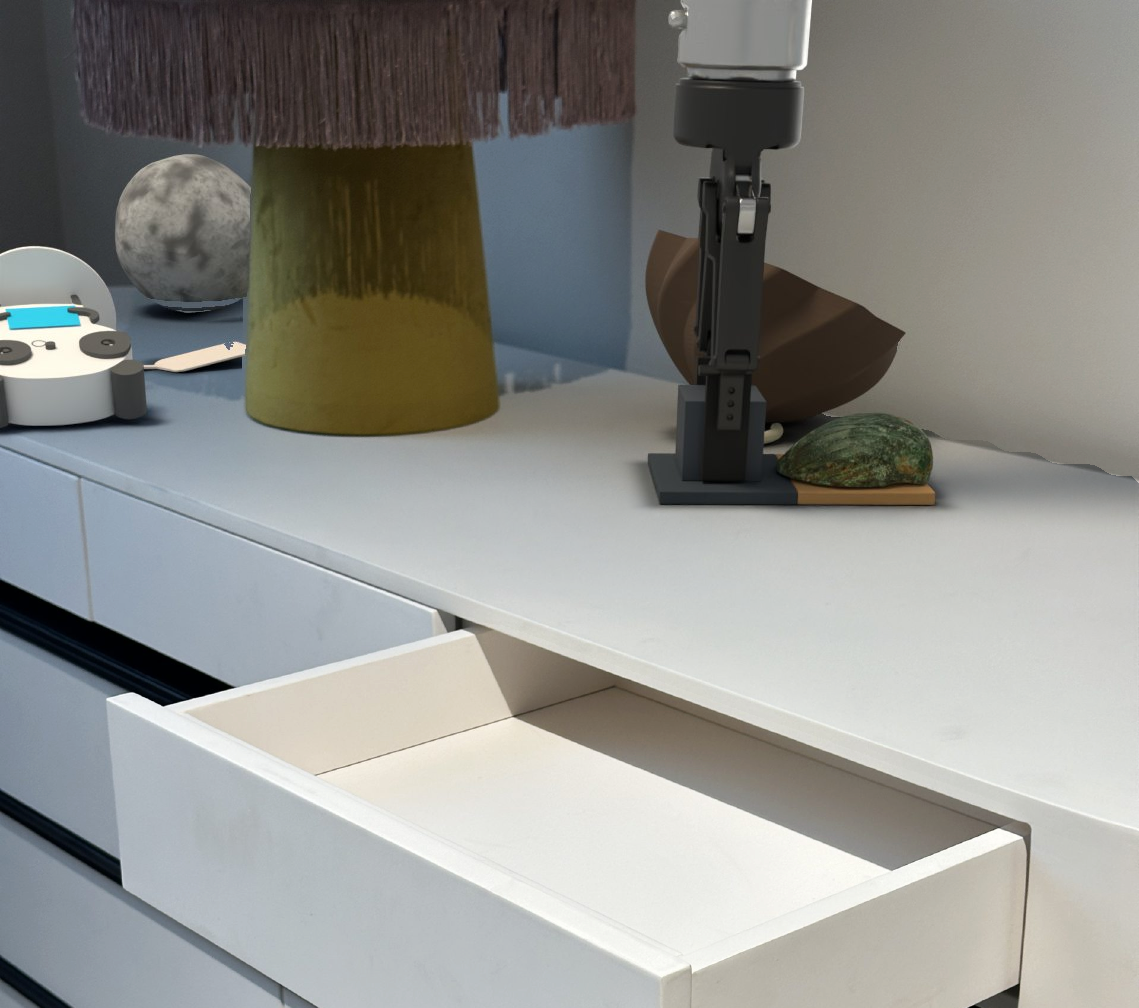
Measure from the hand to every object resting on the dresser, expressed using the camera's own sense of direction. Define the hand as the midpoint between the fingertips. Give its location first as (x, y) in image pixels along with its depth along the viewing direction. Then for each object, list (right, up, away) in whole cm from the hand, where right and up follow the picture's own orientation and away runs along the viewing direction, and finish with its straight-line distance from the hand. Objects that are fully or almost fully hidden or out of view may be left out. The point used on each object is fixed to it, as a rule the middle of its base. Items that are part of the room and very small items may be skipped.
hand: (717, 467), depth 107 cm
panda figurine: (-50, +16, +23) cm, 57 cm away
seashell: (+9, 0, 0) cm, 9 cm away
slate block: (0, 0, 0) cm, 0 cm away
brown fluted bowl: (+6, +16, +14) cm, 22 cm away
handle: (+1, +3, +9) cm, 10 cm away
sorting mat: (+4, -1, +1) cm, 5 cm away
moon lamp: (-49, +29, +51) cm, 77 cm away
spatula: (-50, +13, +31) cm, 60 cm away
